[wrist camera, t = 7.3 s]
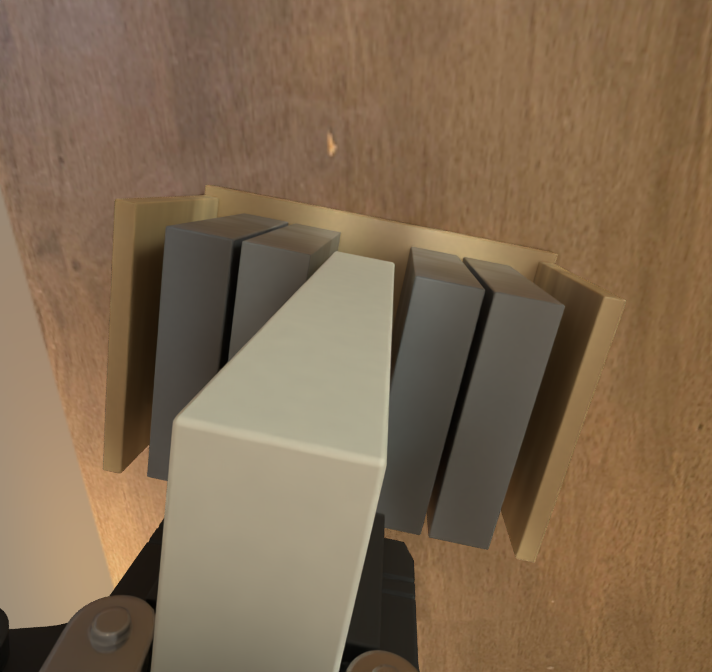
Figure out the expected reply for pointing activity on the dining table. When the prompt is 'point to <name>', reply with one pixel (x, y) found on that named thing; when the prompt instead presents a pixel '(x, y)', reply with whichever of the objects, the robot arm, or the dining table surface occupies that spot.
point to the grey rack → (408, 348)
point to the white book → (280, 484)
